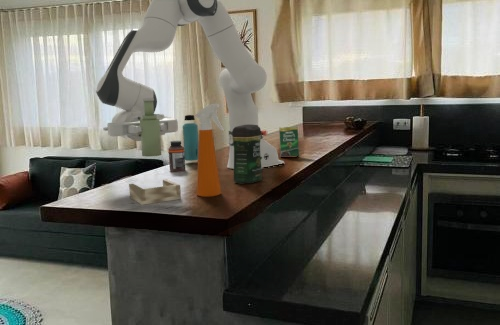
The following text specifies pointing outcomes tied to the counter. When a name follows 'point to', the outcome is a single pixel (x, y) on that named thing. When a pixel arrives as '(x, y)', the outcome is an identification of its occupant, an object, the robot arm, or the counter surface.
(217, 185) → the spray bottle
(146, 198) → the u rest
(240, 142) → the coffee jar
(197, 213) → the counter surface
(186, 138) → the beverage bottle
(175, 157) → the supplement bottle
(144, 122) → the bottle
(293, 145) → the coffee box
